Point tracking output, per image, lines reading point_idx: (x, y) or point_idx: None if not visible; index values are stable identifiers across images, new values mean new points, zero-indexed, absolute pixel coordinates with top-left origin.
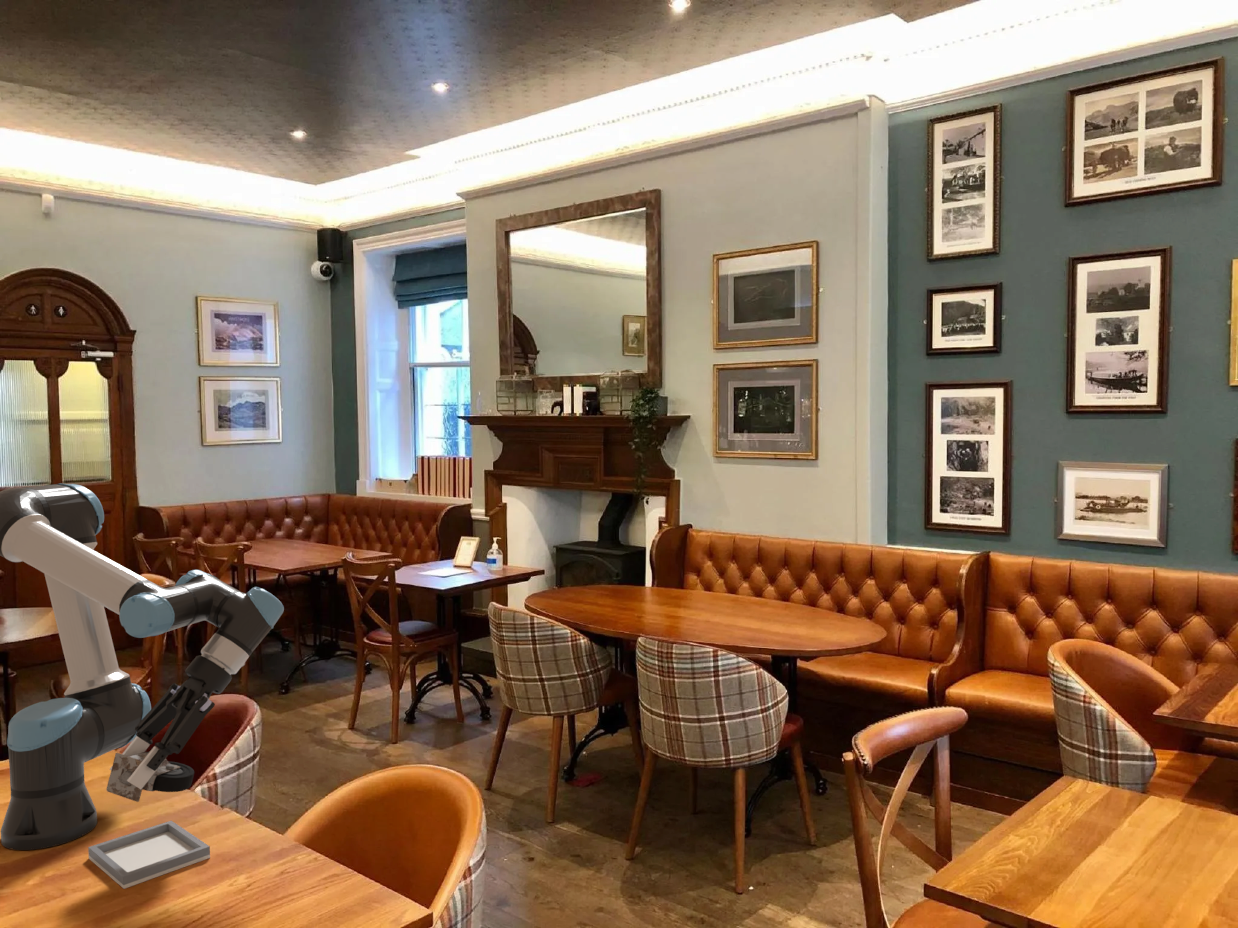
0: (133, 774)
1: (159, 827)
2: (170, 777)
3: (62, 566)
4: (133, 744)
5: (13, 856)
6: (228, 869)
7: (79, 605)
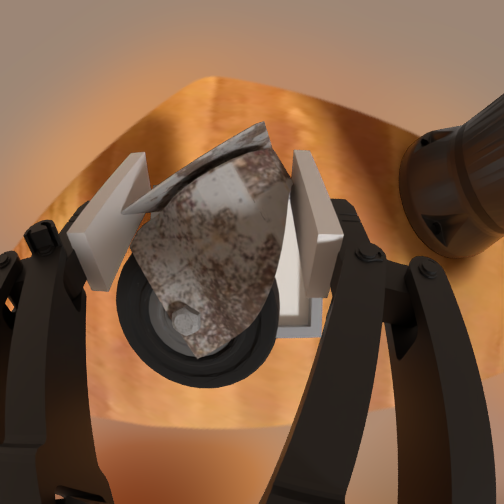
0: (126, 163)
1: (310, 310)
2: (118, 286)
3: None
4: (311, 214)
5: (401, 130)
6: (98, 324)
7: None
